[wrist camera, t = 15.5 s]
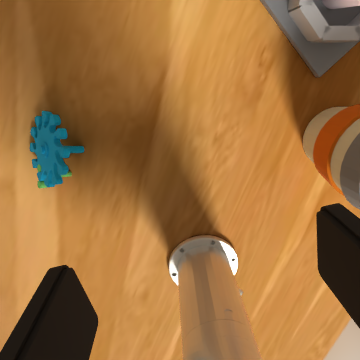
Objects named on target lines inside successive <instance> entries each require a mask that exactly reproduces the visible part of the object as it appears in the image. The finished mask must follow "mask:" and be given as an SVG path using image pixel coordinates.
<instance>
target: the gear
mask: <svg viewBox="0 0 360 360" xmlns="http://www.w3.org/2000/svg"><path fill="white" fill-rule="evenodd" d="M35 123H36V126H37V127H32V129H31V132H30V133H31V136H33V138H34V140H35V143H30V151H31V152H35V154H36V155H37V157H38V159H32V164H33V168H37V169H38V171H39V172H38V173H37V176H38V179H39V181H38V187H39V188H46V187H54V186H55V185H56V184H62V183H63V180H62V177H68V176H71V175H72V173H71V172H70V171H69V172H68V170H69V168H68V166H67V165H66V164H65V162H64V161H63V158H69V156H70V153H83V152H84V147H83V146H64V145H63V144H61V142H60V139H67V130H66V128H58V129H57V130H56V126H57V125H60V124H61V119H60V117H59V115H54V114H52V113H51V112H49V111H42V116H36V117H35Z"/></svg>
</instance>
